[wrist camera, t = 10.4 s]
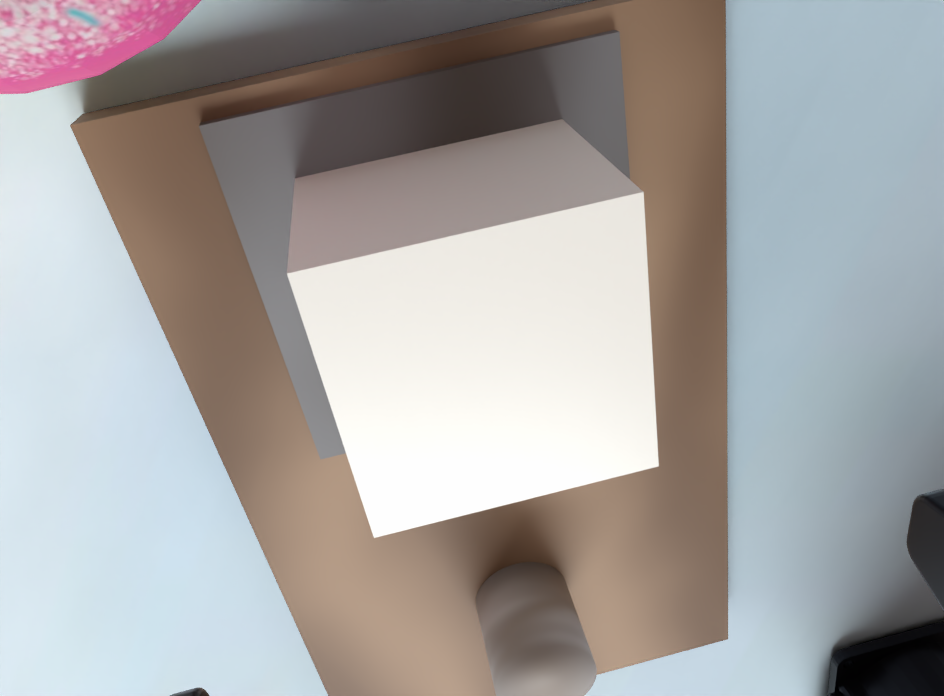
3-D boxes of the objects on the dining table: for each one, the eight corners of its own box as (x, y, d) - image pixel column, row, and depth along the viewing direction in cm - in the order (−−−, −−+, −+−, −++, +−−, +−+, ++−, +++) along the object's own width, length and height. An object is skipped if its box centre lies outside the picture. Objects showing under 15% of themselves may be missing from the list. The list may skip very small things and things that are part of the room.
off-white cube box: (562, 119, 17) (643, 191, 13) (586, 346, 20) (658, 466, 16) (294, 178, 17) (286, 273, 12) (361, 400, 20) (373, 538, 16)
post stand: (705, -25, 17) (806, -5, 14) (715, 617, 29) (772, 719, 25) (82, 113, 17) (17, 172, 13) (348, 716, 28) (352, 836, 24)
